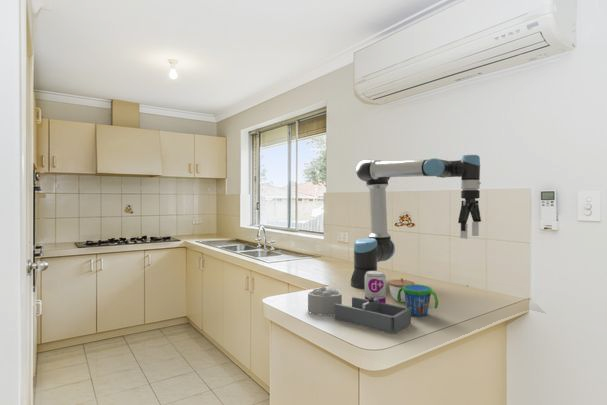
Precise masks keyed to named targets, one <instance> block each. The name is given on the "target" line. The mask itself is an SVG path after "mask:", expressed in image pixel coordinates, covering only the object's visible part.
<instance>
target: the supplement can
mask: <svg viewBox="0 0 607 405" xmlns="http://www.w3.org/2000/svg"><path fill="white" fill-rule="evenodd" d="M386 284H387V277H386V274H385V272H384V271H381V270H377V271H367V272H366V274H365V288H364V299H367V300H368V298H369V297H373V298H374V299H375V298H379V302H381V303H386V301H387V300H386V294H387V292H386V290H387V287H386V286H387V285H386ZM386 304H387V303H386Z"/></svg>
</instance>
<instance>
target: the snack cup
mask: <svg viewBox="0 0 607 405" xmlns="http://www.w3.org/2000/svg"><path fill="white" fill-rule="evenodd" d="M402 290H403V291H404V293H405V300H406V302H405V305H406V308H410V309H411V316H417V317H424V316H427V315H428V313H429V307H430V299H431V295H432V296H433V297H434V298H433V299H434V300H435V302H434V309H435V310H436V309H438V307H439V298H438V295H437V293H436V292H435V291H434V290H432V287H430V286H428V285H423V284H415V285H406V286H404V287H403V288H401V289H400V290H399V292H398V297H397V299H398V301H397V302H399V303H400V302H401V295H400V293H401V291H402ZM401 303H402V302H401Z"/></svg>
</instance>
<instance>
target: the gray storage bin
mask: <svg viewBox="0 0 607 405" xmlns="http://www.w3.org/2000/svg"><path fill="white" fill-rule="evenodd" d="M366 302H368V300H367V299H365V298H360V297H356V296H352V297H351V306H349V305H345V304H342V305H341V304H337V303H336V304H335V314H334V320H337V321H341V322H345V323H349V324H353V325H355V326H357V325H358V326H360V327H364V328H367V327H368V328H369V329H371V328H372V329H371V330H376V331H379V332H383V331H384V333H388V334H390V333H391V334H392V335H395V334H397V333H399V332H400V331H403V330H404V329H405V328H408V327H409V326H410V325H411V324H412V315H411V309H410V308H407V306H406V307H405V306H400V305H396V304H390V303H381V302H379V313H376V312H372V311H368V310H363V309H362V304H364V303H366Z"/></svg>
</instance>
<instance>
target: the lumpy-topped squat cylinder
mask: <svg viewBox="0 0 607 405" xmlns="http://www.w3.org/2000/svg"><path fill="white" fill-rule="evenodd" d="M342 297H343V295H342V293H341V292H339V290H338V289H336V288H333V287H329V288H327V287H325V286H321V287H318V288H314V289H313V290H312V291H309V292H308V293H307V312H308V311H309V312H311V313H310V314H312V313H314V314H313V315H318V314H322V315H321V316H328V315H329V316H330V315H331V314H332V315H335V304H336V303H337V304H341V305H343V304H342V303H343V302H342V300H343V298H342ZM309 312H308V313H309ZM324 314H325V315H324Z"/></svg>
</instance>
